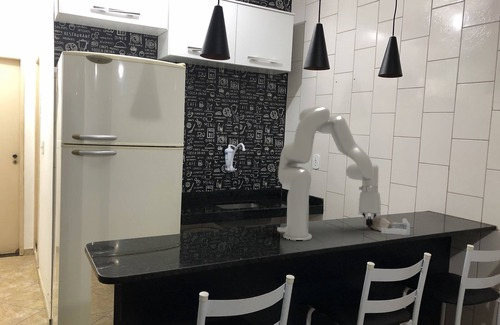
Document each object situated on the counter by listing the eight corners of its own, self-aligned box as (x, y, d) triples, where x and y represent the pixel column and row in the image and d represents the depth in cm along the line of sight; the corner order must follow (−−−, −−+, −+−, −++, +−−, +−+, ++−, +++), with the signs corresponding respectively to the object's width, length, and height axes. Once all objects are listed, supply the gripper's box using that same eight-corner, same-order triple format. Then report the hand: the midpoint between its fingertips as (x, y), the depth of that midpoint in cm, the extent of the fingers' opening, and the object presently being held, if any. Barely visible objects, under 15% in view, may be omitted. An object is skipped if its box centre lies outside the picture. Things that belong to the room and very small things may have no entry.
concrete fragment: (381, 233, 189) (381, 220, 189) (365, 227, 203) (365, 215, 203) (394, 232, 191) (394, 220, 191) (378, 226, 205) (378, 214, 204)
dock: (381, 233, 188) (381, 222, 188) (379, 226, 203) (379, 217, 202) (409, 235, 185) (410, 224, 185) (405, 228, 200) (405, 218, 199)
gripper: (354, 189, 194) (353, 227, 195) (386, 191, 190) (385, 229, 191) (354, 188, 201) (353, 224, 202) (385, 189, 198) (384, 226, 199)
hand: (369, 226), depth 197 cm, fingers closed
